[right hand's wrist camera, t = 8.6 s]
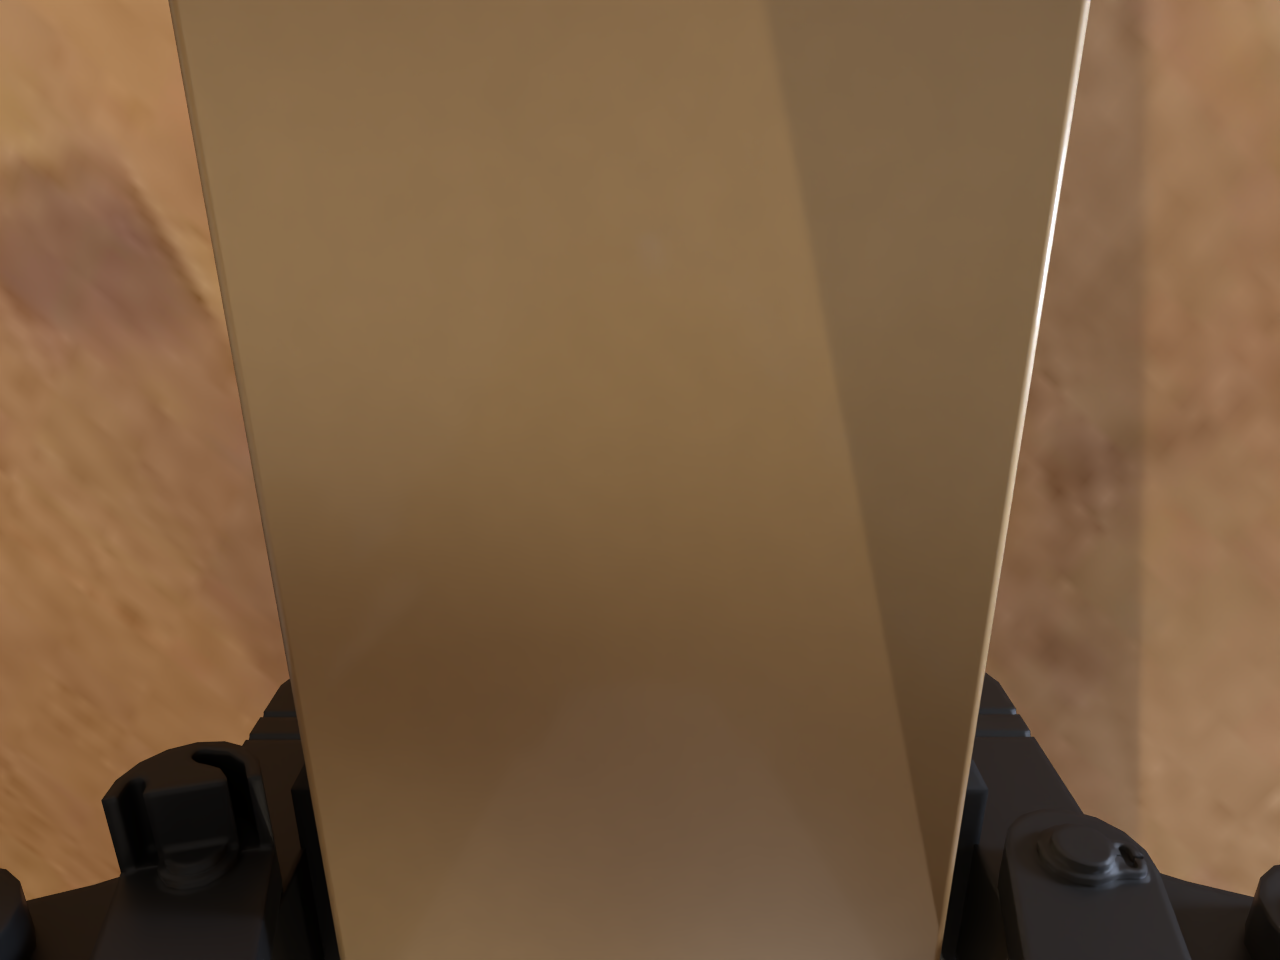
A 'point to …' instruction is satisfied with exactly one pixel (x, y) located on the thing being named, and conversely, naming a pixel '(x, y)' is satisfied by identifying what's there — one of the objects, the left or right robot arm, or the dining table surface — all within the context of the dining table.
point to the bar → (634, 446)
